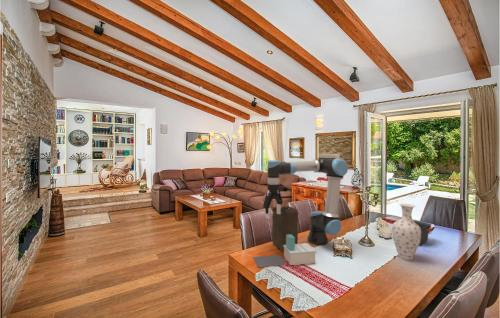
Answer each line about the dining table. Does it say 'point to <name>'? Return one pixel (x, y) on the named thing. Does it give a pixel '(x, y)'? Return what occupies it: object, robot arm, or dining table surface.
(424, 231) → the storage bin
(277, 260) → the mat
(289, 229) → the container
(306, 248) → the lid
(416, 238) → the vase
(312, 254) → the tub
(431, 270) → the dining table surface
